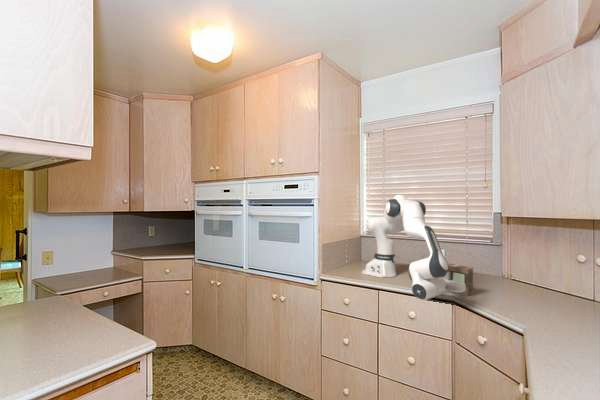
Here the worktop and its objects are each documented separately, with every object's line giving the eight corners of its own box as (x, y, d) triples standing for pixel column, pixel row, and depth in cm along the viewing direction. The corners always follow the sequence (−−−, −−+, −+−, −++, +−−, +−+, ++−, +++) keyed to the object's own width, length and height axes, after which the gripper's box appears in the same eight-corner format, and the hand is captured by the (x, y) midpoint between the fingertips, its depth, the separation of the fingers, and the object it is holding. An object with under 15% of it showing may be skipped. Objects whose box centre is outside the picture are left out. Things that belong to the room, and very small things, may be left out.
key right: (452, 283, 168) (452, 272, 168) (456, 282, 171) (456, 271, 171) (464, 286, 163) (464, 274, 163) (468, 284, 166) (468, 273, 166)
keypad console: (425, 285, 182) (425, 260, 181) (430, 283, 185) (430, 259, 185) (467, 296, 163) (467, 268, 162) (472, 293, 166) (473, 266, 166)
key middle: (437, 281, 173) (437, 270, 173) (441, 279, 176) (442, 269, 176) (448, 283, 168) (448, 272, 168) (452, 282, 171) (452, 271, 171)
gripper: (458, 283, 143) (471, 279, 152) (417, 275, 159) (432, 271, 168) (458, 297, 143) (471, 292, 152) (417, 287, 159) (432, 283, 168)
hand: (450, 281), depth 160 cm, fingers closed
